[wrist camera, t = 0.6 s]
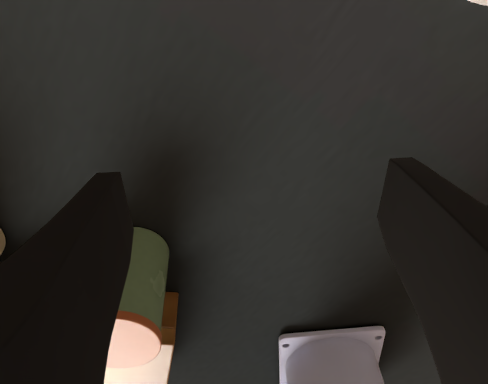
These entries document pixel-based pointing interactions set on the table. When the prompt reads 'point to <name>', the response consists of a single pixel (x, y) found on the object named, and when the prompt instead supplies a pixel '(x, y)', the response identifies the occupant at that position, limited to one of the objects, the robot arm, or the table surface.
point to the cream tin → (2, 241)
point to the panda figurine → (480, 2)
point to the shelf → (156, 371)
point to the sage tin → (141, 303)
